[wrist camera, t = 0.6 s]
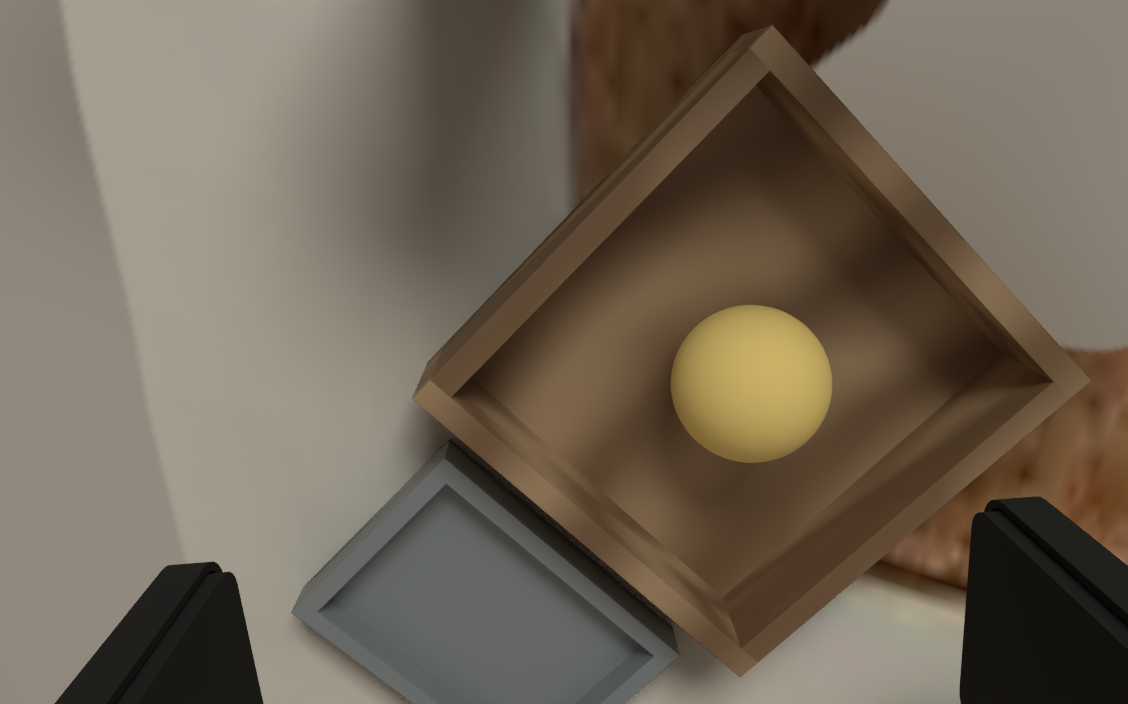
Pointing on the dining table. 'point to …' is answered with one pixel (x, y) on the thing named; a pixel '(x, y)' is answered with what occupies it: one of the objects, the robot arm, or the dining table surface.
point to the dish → (481, 601)
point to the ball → (751, 383)
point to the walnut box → (733, 278)
